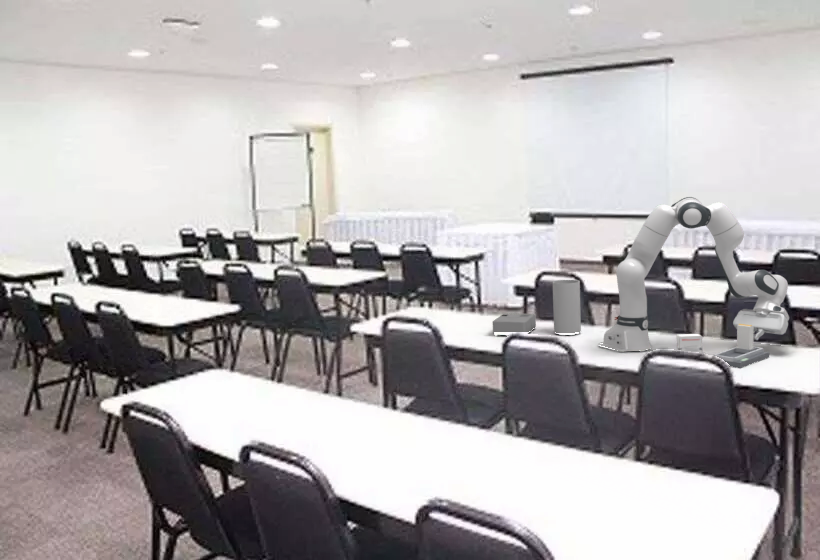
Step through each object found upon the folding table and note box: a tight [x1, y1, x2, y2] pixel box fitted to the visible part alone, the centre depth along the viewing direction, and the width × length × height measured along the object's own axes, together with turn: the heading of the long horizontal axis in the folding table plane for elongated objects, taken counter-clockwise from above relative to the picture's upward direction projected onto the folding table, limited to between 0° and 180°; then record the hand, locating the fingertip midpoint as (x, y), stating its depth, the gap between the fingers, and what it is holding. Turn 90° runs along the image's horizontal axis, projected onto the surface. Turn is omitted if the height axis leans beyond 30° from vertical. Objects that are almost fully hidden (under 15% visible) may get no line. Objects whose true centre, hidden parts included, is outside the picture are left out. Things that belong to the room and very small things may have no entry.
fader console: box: [713, 346, 770, 369], centre depth 287 cm, size 13×22×3 cm, turn 128°
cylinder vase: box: [552, 279, 582, 333], centre depth 351 cm, size 12×12×25 cm
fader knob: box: [735, 324, 755, 353], centre depth 289 cm, size 6×4×11 cm, turn 38°
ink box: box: [675, 333, 703, 354], centre depth 284 cm, size 9×5×12 cm, turn 84°
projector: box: [492, 312, 537, 333], centre depth 362 cm, size 17×22×8 cm
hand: (753, 339), depth 293 cm, fingers closed
